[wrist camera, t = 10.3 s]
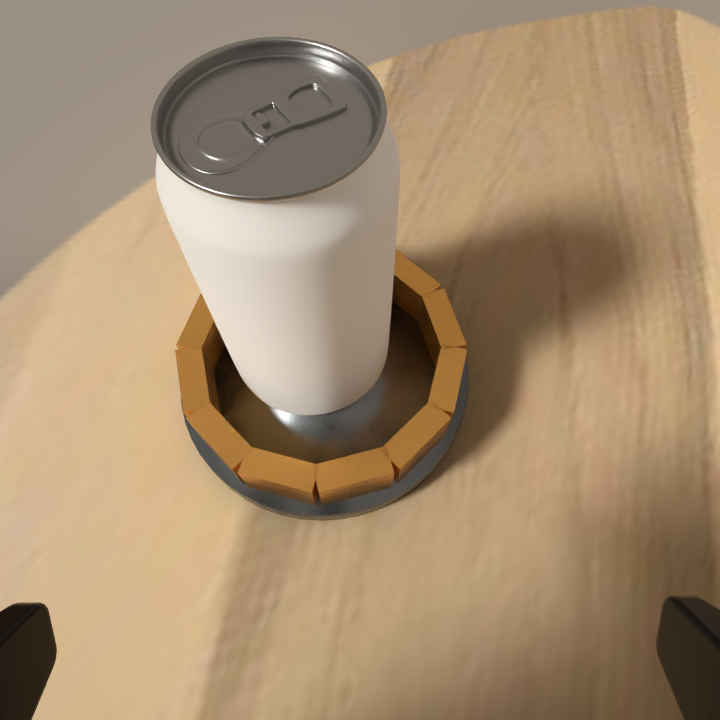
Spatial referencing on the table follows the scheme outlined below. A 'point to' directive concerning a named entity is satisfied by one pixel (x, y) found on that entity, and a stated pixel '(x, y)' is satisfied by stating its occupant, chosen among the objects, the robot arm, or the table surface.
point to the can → (285, 212)
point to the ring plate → (333, 414)
